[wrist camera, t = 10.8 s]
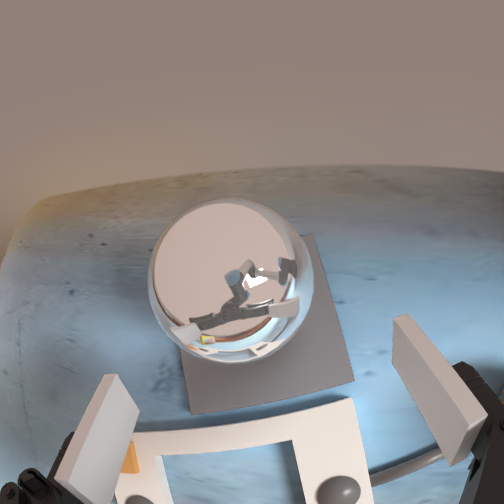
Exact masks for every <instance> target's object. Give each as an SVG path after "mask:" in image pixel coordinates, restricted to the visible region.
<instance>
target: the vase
mask: <svg viewBox="0 0 504 504" xmlns="http://www.w3.org/2000/svg"><path fill="white" fill-rule="evenodd" d="M498 399H499V400H500V401H501V403H502V404H503V405H504V387H503V389H502V391H501V393H500V395H499V398H498Z"/></svg>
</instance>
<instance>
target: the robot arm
mask: <svg viewBox="0 0 504 504" xmlns="http://www.w3.org/2000/svg"><path fill="white" fill-rule="evenodd" d="M392 364H393V366H394V368H395V369H396V371H397V373H398V374H399V376H400V378H401V379H402V381H403V383H404V384H405V386H406V388H407V390H408V391H409V393H410V395H411V397H412V398H413V400H414V402H415V404H416V405H417V407H418V409H419V411H420V412H421V414H422V416H423V418H424V420H425V421H426V423H427V425H428V427H429V429H430V430H431V432H432V434H433V436H434V438H435V440H436V442H437V443H438V445H439V447H440V449H441V451H442V453H443V455H444V457H445V459H446V461H447V463H448V465H449V467H450V466H452V465H454V464H456V463H458V462H460V461H462V460H464V459H466V458H467V457H468V455H469V453H470V451H472V453H473V454H474V456H475V457H474V459H473V460H472V462H471V464H470V465H469V467H468V470H470V472H469V476H468V479H467V482H466V485H465V488H464V491H463V494H462V496H461V499H460V502H459V504H504V405H503V404H502V403H501V401H500V400H499V399H498V397H497V396H496V395H495V394H494V392H493V391H492V390H491V389H490V387H489V386H488V385H487V384H485V381H484V380H483V379H482V378H481V377H480V376H479V374H478V373H477V372H476V370H475V369H474V368H473V367H472V366H470V365H468V364H466V363H464V362H463V361H462V362H460V363H458V364H455V365H453V366H451V365H450V364H449V362H448V361H447V360H446V359H445V357H444V356H443V355H442V354H441V352H440V351H439V350H438V349H437V348H436V346H435V345H434V344H433V343H432V341H431V340H430V339H429V338H428V337H427V335H426V334H425V333H424V332H423V331H422V330H421V328H420V327H419V326H418V325H417V324H416V322H415V321H414V320H413V319H412V318H411V317H410V316H409V314H408V313H407V314H404V315H401V316H398V317H395V318H393V351H392ZM139 413H140V410H139V409H138V407H137V406H136V404H135V402H134V401H133V399H132V398H131V396H130V395H129V393H128V391H127V390H126V388H125V386H124V385H123V383H122V382H121V380H120V378H119V376H118V375H117V373H115V374H104V376H103V378H102V380H101V382H100V384H99V386H98V387H97V389H96V391H95V393H94V395H93V397H92V399H91V401H90V403H89V405H88V407H87V409H86V411H85V413H84V415H83V417H82V419H81V421H80V423H79V425H78V427H77V429H76V431H75V432H71V433H70V435H69V436H68V437H67V438H66V439H65V441H64V443H63V445H62V447H61V448H62V449H60V451H59V453H58V456H57V457H56V460H55V462H54V464H53V466H52V468H51V470H50V473H49V475H48V477H47V479H46V478H45V477H44V476H43V475H42V474H41V473H40V472H39V471H38V470H36V469H35V468H28V469H26V470H24V471H23V472H22V473H21V474H20V475H19V478H18V485H19V486H20V487H21V488H22V489H21V488H20V487H19V486H18V485H17V484H16V483H14V482H9V483H6V484H5V485H4V486H3V487H2V489H1V492H0V504H111V503H112V499H113V496H114V492H115V489H116V485H117V482H118V479H119V475H120V472H121V469H122V465H123V462H124V459H125V456H126V453H127V449H128V446H129V443H130V440H131V437H132V434H133V431H134V428H135V425H136V422H137V419H138V416H139Z"/></svg>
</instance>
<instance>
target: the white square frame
mask: <svg viewBox="0 0 504 504" xmlns="http://www.w3.org/2000/svg"><path fill="white" fill-rule="evenodd" d="M288 440H292V442H293V447H294V451H295V456H296V460H297V465H298V469H299V473H300V478H301V482H302V487H303V491H304V496H305V500H306V504H374V501H373V495H372V489H371V488H372V487H375V486H378V485H381V484H384V483H386V482H389V481H392V480H394V479H397V478H400V477H402V476H405V475H407V474H410V473H412V472H414V471H417V470H419V469H421V468H424V467H426V466H428V465H430V464H432V463H435V462H437V461H439V460H441V459H443V458H445V457H444V455H443V453H442V451H441V449H440V447H438V448H436V449H434V450H431V451H429V452H427V453H425V454H423V455H420V456H418V457H416V458H413V459H411V460H409V461H406V462H404V463H401V464H398V465H396V466H393V467H391V468H388V469H385V470H382V471H379V472H377V473H374V474H371V475H369V473H368V468H367V463H366V458H365V453H364V448H363V444H362V439H361V434H360V430H359V425H358V421H357V416H356V412H355V408H354V403H353V399H352V397H347V398H344V399H340V400H337V401H333V402H330V403H326V404H323V405H319V406H315V407H311V408H307V409H303V410H299V411H294V412H290V413H285V414H281V415H276V416H271V417H266V418H260V419H255V420H249V421H243V422H237V423H231V424H224V425H216V426H208V427H199V428H190V429H178V430H165V431H145V432H133V434H132V437H131V440H130V443H129V446H128V449H127V453H126V456H125V459H124V462H123V465H122V469H121V472H120V475H119V479H118V482H117V485H116V489H115V496H116V499H117V503H118V504H174V503H173V500H172V496H171V492H170V489H169V485H168V481H167V477H166V473H165V468H164V464H163V460H162V455H181V454H196V453H208V452H218V451H227V450H235V449H242V448H249V447H255V446H261V445H267V444H273V443H278V442H283V441H288Z"/></svg>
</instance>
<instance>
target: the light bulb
mask: <svg viewBox="0 0 504 504" xmlns="http://www.w3.org/2000/svg"><path fill="white" fill-rule="evenodd" d="M147 290H148V295H149V301H150V305H151V307H152V310H153V312H154V315H155V317H156V319H157V321H158V323H159V325H160V326H161V328H162V329H163V330H164V332H165V333H166V335H167V336H168V337H169V338H170V339H171V340H172V341H173V342H174V343H175V344H176V345H178V346H179V347H180V348H181V349H183V350H184V351H186V352H187V353H189V354H191V355H193V356H194V357H196V358H198V359H201V360H204V361H207V362H210V363H214V364H224V365H238V364H247V363H252V362H255V361H258V360H261V359H264V358H266V357H268V356H270V355H272V354H273V353H275V352H277V351H279V350H280V349H281V348H282V347H284V346H285V345H286V344H287V343H288V342H289V341H290V340H291V339H292V338H293V337H294V336H295V334H296V333H297V332H298V330H299V329H300V328H301V326H302V324H303V322H304V320H305V318H306V316H307V314H308V312H309V309H310V307H311V302H312V298H313V294H314V273H313V268H312V263H311V258H310V254H309V252H308V250H307V247H306V245H305V243H304V241H303V239H302V238H301V237H300V235H299V234H298V233H297V231H296V230H295V229H294V227H293V226H292V225H291V224H290V223H289V222H288V221H287V220H286V219H285V218H284V217H282V216H281V215H280V214H279V213H277V212H275V211H274V210H272V209H270V208H268V207H267V206H264V205H262V204H259V203H256V202H253V201H250V200H246V199H239V198H221V199H216V200H211V201H207V202H204V203H202V204H199V205H196V206H194V207H192V208H190V209H189V210H187V211H185V212H183V213H182V214H181V215H180V216H178V217H177V218H176V219H175V220H174V221H173V222H172V223H171V224H170V225H169V226H168V227H167V228H166V229H165V230H164V232H163V233H162V235H161V236H160V238H159V239H158V241H157V243H156V245H155V247H154V249H153V252H152V254H151V257H150V262H149V267H148V287H147Z"/></svg>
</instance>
